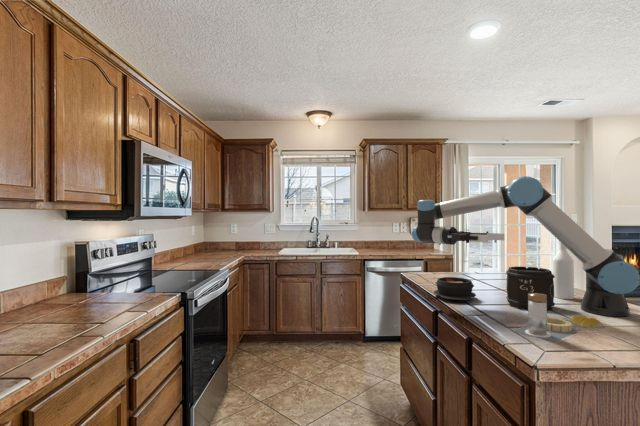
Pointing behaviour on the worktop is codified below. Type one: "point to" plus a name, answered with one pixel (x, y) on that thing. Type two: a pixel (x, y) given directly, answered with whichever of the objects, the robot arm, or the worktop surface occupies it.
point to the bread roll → (586, 322)
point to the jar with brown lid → (537, 314)
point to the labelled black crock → (529, 285)
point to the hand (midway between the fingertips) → (496, 237)
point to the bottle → (563, 274)
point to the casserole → (454, 288)
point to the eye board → (552, 339)
